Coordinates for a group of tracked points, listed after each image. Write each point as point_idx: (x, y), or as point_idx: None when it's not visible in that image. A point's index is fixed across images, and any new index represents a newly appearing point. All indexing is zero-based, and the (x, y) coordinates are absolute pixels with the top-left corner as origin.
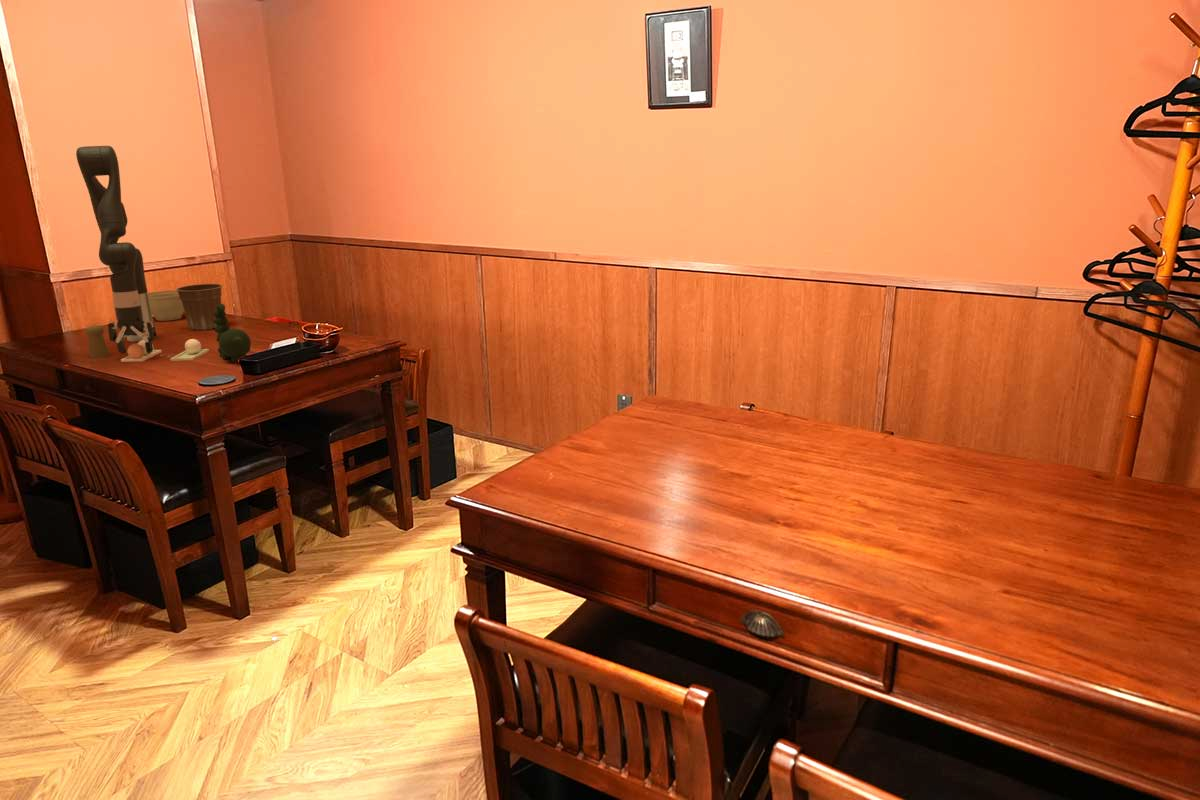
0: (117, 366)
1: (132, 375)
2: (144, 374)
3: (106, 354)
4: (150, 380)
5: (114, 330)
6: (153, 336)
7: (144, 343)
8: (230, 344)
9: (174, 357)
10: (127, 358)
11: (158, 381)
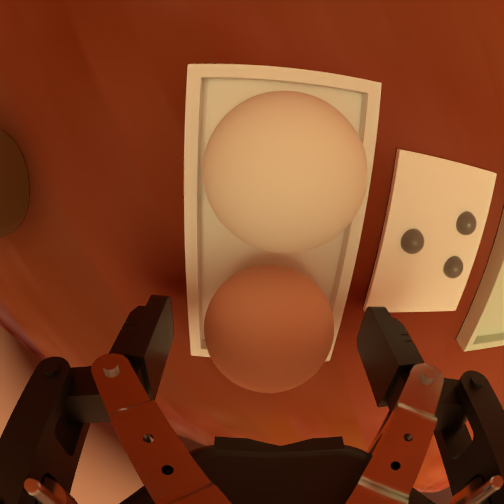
0: (215, 393)
1: None
2: None
3: (13, 200)
4: None
5: (54, 469)
6: (463, 433)
7: (317, 243)
8: None
9: (480, 325)
10: (200, 301)
11: None
